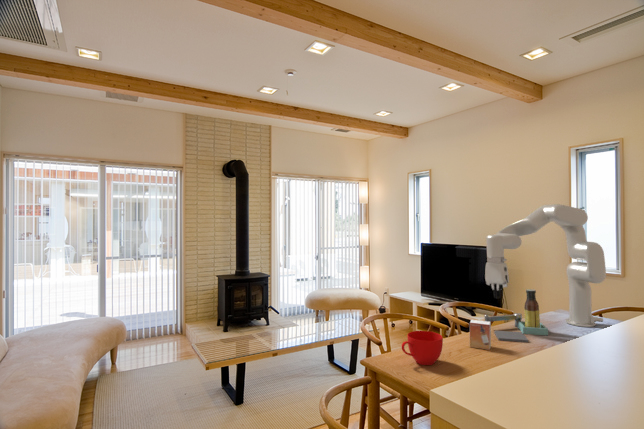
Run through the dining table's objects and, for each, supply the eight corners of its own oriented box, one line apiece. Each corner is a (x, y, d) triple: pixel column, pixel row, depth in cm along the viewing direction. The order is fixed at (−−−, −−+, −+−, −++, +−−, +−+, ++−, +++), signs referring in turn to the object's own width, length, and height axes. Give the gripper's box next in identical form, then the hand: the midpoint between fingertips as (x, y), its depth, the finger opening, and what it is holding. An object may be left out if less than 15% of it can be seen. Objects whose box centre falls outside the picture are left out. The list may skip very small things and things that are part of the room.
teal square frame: (539, 327, 189) (539, 320, 189) (548, 335, 176) (547, 327, 176) (514, 325, 192) (514, 318, 192) (520, 333, 179) (520, 325, 179)
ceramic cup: (392, 360, 146) (391, 334, 146) (427, 354, 153) (427, 329, 153) (413, 373, 134) (413, 344, 134) (450, 365, 141) (450, 338, 141)
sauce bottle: (536, 329, 186) (536, 288, 186) (542, 333, 180) (542, 291, 180) (522, 329, 187) (521, 288, 187) (528, 333, 180) (527, 290, 181)
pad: (522, 334, 178) (521, 332, 178) (528, 342, 166) (528, 340, 166) (494, 332, 181) (494, 330, 181) (498, 340, 170) (498, 338, 170)
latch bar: (523, 319, 189) (523, 313, 189) (487, 322, 184) (487, 316, 184) (518, 317, 193) (518, 311, 193) (482, 320, 188) (482, 314, 188)
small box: (469, 347, 161) (469, 322, 161) (471, 343, 166) (470, 319, 166) (490, 350, 157) (489, 324, 157) (491, 346, 162) (490, 321, 162)
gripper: (514, 260, 181) (516, 299, 181) (486, 258, 193) (488, 294, 193) (505, 262, 177) (507, 301, 177) (477, 259, 189) (478, 296, 189)
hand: (497, 297), depth 185 cm, fingers closed
